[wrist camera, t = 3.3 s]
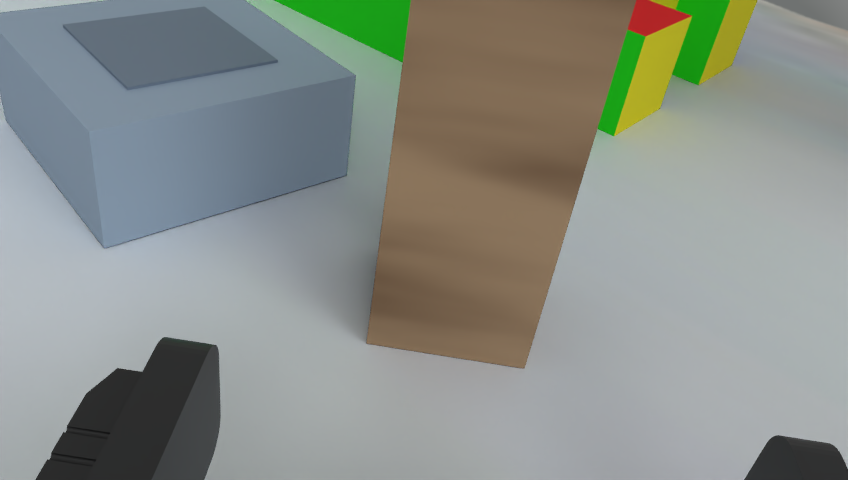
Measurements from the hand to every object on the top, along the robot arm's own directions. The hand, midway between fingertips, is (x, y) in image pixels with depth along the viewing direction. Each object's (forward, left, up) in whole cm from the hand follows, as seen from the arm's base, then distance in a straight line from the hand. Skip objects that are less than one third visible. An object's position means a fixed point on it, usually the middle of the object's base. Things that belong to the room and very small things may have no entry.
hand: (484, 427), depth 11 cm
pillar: (-7, -7, -7) cm, 12 cm away
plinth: (-4, -19, -7) cm, 21 cm away
